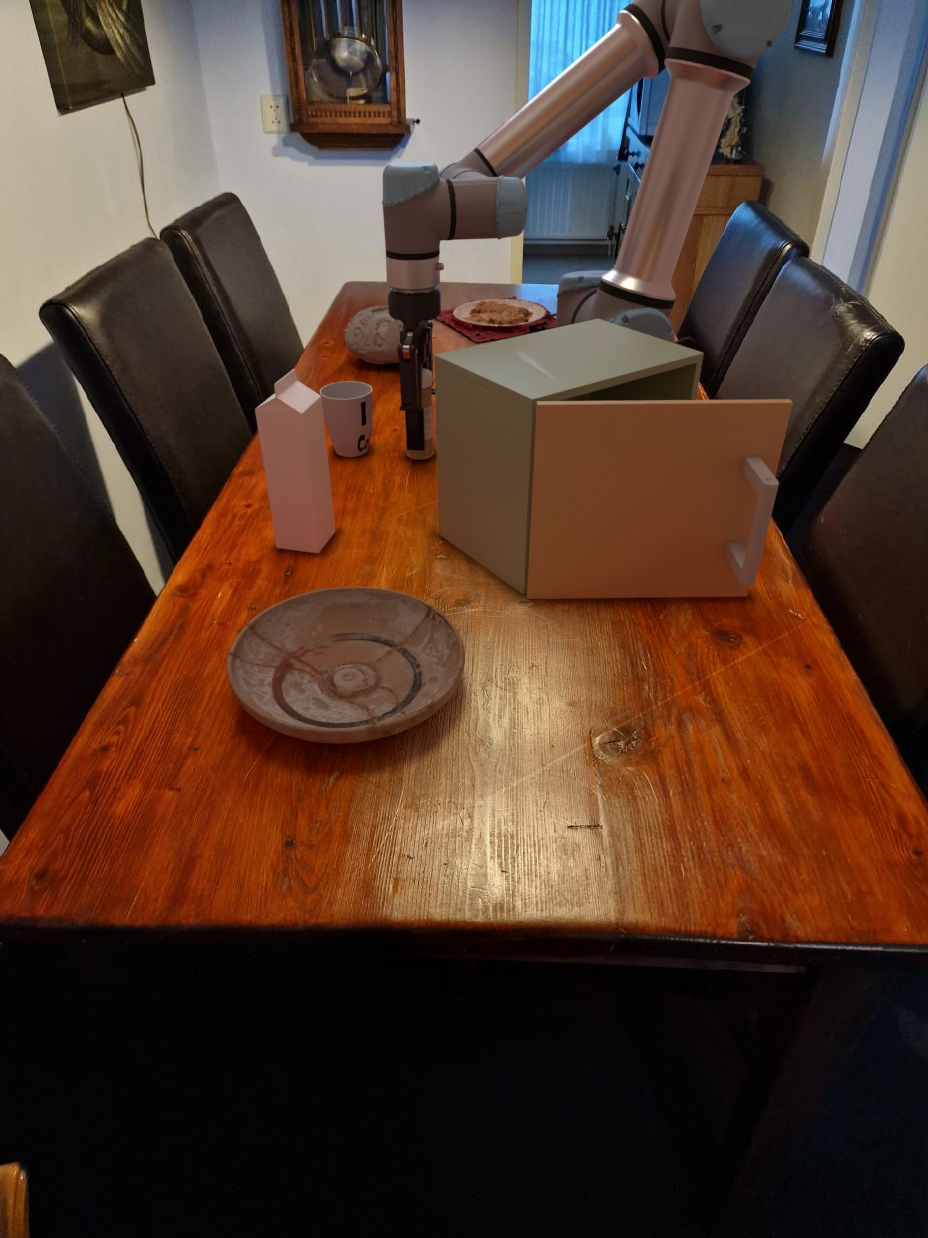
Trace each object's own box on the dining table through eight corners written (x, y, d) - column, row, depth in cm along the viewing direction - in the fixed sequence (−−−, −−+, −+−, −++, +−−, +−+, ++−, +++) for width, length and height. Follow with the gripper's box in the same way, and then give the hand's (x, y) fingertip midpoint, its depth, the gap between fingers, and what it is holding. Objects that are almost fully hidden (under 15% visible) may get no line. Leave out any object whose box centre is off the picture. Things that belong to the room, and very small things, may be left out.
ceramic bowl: (262, 802, 71) (253, 761, 68) (216, 651, 88) (207, 613, 85) (503, 728, 78) (504, 688, 75) (416, 602, 96) (414, 566, 93)
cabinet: (674, 532, 109) (704, 352, 96) (523, 595, 97) (532, 399, 83) (583, 484, 121) (598, 318, 107) (438, 534, 109) (434, 354, 95)
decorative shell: (440, 369, 164) (439, 318, 158) (352, 377, 160) (348, 325, 155) (422, 343, 178) (421, 295, 172) (341, 350, 175) (336, 301, 169)
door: (765, 630, 91) (818, 428, 77) (532, 633, 91) (544, 430, 77) (744, 592, 97) (789, 398, 84) (526, 594, 97) (536, 401, 83)
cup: (368, 462, 128) (363, 400, 122) (319, 458, 129) (311, 397, 123) (382, 442, 134) (378, 382, 128) (335, 438, 135) (329, 379, 130)
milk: (276, 548, 106) (248, 382, 93) (295, 526, 111) (271, 365, 98) (320, 554, 105) (297, 386, 92) (337, 531, 110) (318, 369, 97)
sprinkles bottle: (406, 449, 132) (403, 366, 124) (434, 449, 132) (432, 366, 124) (404, 461, 128) (400, 376, 120) (433, 461, 128) (431, 376, 120)
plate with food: (514, 303, 206) (514, 289, 204) (569, 327, 186) (569, 311, 184) (428, 317, 197) (427, 302, 195) (476, 342, 178) (476, 326, 176)
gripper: (427, 304, 108) (431, 467, 121) (451, 273, 122) (452, 422, 135) (372, 302, 109) (382, 464, 122) (402, 271, 123) (408, 419, 136)
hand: (419, 442), depth 129 cm, fingers open, 5 cm apart
